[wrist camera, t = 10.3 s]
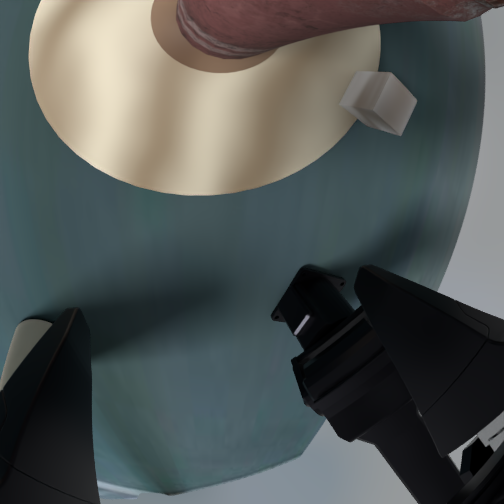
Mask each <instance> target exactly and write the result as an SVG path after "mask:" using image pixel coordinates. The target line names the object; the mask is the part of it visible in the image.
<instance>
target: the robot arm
mask: <svg viewBox="0 0 504 504" xmlns="http://www.w3.org/2000/svg"><path fill="white" fill-rule="evenodd" d="M304 272H305V273H304ZM303 273H304V274H303ZM345 284H346V281H345V280H344V279H343V278H341V277H337V276H333V275H330V274H326V273H323V272H319V271H315V270H312V269H308V268H301V269H300V270H299V271H298V273H297V274H296V276H295V278H294V279H293V281H292V282H291V284H290V286H289V287H288V289H287V291H286V292H285V294H284V295H283V297H282V298H281V300H280V302H279V303H278V305H277V306H276V308H275V309H274V311H273V313H272V314H271V318H272V320H273V321H279V322H286V323H287V325H288V327H289V328H290V330H291V332H292V334H293V335H294V336H296V337H297V339H298V341H299V343H300V344H301V346H302V348H303V350H304V352H303V353H301V354H300V355H299V356H297V357H294V358H293V359H291V362H292V365H293V371H294V374H295V377H296V380H297V383H298V386H299V389H300V392H301V395H302V398H303V401H304V404H305V405H306V406H307V407H311V408H312V409H313V410H314V411H315V412H316V413H317V414H319V415H320V416H325V417H326V418H327V420H328V421H329V423H330V424H331V426H332V427H333V429H334V430H335V432H336V434H337V435H338V436H339V437H340V438H342V439H344V440H346V441H348V442H352V441H354V440H355V439H358V440H361V441H365V442H367V443H371V444H374V445H375V446H376V448H377V449H378V450H379V451H380V453H381V454H382V456H383V457H384V458H385V460H386V461H387V462H388V464H389V465H390V467H391V468H392V469H393V471H394V472H395V473H396V475H397V476H398V477H399V479H400V480H401V481H402V483H403V484H404V485H405V487H406V488H407V489H408V490H409V492H410V493H411V495H412V496H413V497H414V499H415V500H416V501H417V503H418V504H504V320H503V319H501V318H498V317H495V316H493V315H490V314H488V313H485V312H483V311H480V310H478V309H475V308H473V307H470V306H468V305H466V304H463V303H461V302H459V301H457V300H454V299H452V298H450V297H448V296H445V295H443V294H441V293H438V292H436V291H434V290H432V289H429V288H427V287H425V286H422V285H420V284H417V283H415V282H413V281H410V280H408V279H406V278H403V277H401V276H398V275H396V274H394V273H391V272H389V271H386V270H384V269H381V268H379V267H377V266H374V265H371V264H369V265H364V266H361V267H360V268H359V271H358V274H357V277H356V281H355V284H354V290H355V293H356V295H357V297H358V299H359V301H360V303H361V306H360V307H359V308H358V309H356V310H354V309H353V308H352V306H351V305H350V304H349V303H348V302H347V300H346V299H345V298H344V297H343V296H342V294H341V293H340V292H341V290H342V289H343V287H344V286H345ZM419 412H420V413H419ZM476 434H477V436H476V437H475V438H474V439H473V440H472V441H471V443H470V444H469V445H468V446H467V447H466V448H465V449H464V450H463V453H462V462H461V469H460V471H459V469H458V468H457V466H456V465H455V463H454V462H453V460H452V459H451V457H450V456H449V453H451V452H452V451H454V450H455V449H457V448H458V447H460V446H461V445H463V444H464V443H465V442H467V441H468V440H469V439H471V438H472V437H473V436H475V435H476ZM0 504H100V498H99V492H98V486H97V479H96V471H95V461H94V450H93V434H92V370H91V350H90V330H89V327H88V325H87V323H86V320H85V318H84V316H83V313H82V311H81V309H80V308H78V307H73V308H67V309H66V310H65V311H64V312H63V313H62V314H61V315H60V316H59V317H58V318H57V320H56V321H55V322H54V323H53V324H52V325H51V326H50V328H49V329H48V330H47V331H46V332H45V334H44V335H43V336H42V337H41V338H40V340H39V341H38V342H37V343H36V344H35V346H34V347H33V348H32V349H31V351H30V352H29V353H28V354H27V356H26V357H25V358H24V360H23V361H22V362H21V363H20V365H19V366H18V367H17V369H16V370H15V371H14V373H13V374H12V375H11V377H10V378H9V380H8V381H7V382H6V384H5V385H4V387H3V390H1V391H0Z"/></svg>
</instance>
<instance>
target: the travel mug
mask: <svg viewBox="0 0 504 504" xmlns="http://www.w3.org/2000/svg"><path fill="white" fill-rule="evenodd" d="M51 325H52V323H49V322H47V321H43V320H37V319H30V320H25V321H23V322H21V323H20V324H19V325H18V326H17V328H16V330H15V333H14V336H13V339H12V342H11V345H10V348H9V351H8V355H7V358H6V362H5V365H4V369H3V373H2V377H1V381H0V391H1V390H3V387H4V385H5V384H6V382H7V381H8V380H9V378H10V377H11V375H12V374H13V373H14V371H15V370H16V369H17V367H18V366H19V365H20V363H21V362H22V361H23V360H24V358H25V357H26V356H27V354H28V353H29V352H30V351H31V349H32V348H33V347H34V346H35V344H36V343H37V342H38V341H39V340H40V338H41V337H42V336H43V335H44V334H45V332H46V331H47V330H48V329H49V328H50V326H51Z"/></svg>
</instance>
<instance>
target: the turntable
mask: <svg viewBox="0 0 504 504" xmlns="http://www.w3.org/2000/svg"><path fill="white" fill-rule="evenodd" d="M177 1H178V0H41V2H40V4H39V7H38V9H37V12H36V14H35V18H34V22H33V26H32V30H31V35H30V44H29V66H30V75H31V81H32V85H33V88H34V92H35V95H36V98H37V101H38V103H39V105H40V107H41V109H42V111H43V113H44V115H45V117H46V119H47V121H48V122H49V124H50V125H51V126H52V128H53V129H54V130H55V132H56V133H57V135H58V136H59V137H60V138H61V139H62V140H63V141H64V142H65V143H66V144H67V145H68V146H69V147H70V148H71V149H72V150H73V151H74V152H75V153H76V154H77V155H79V156H80V157H81V158H83V159H84V160H85V161H87V162H88V163H90V164H91V165H92V166H94V167H95V168H97V169H99V170H101V171H103V172H105V173H106V174H108V175H110V176H112V177H114V178H116V179H119V180H121V181H124V182H127V183H129V184H132V185H135V186H138V187H141V188H145V189H150V190H154V191H158V192H162V193H171V194H180V195H218V194H227V193H236V192H240V191H244V190H249V189H253V188H258V187H261V186H263V185H266V184H269V183H272V182H275V181H278V180H280V179H283V178H285V177H287V176H289V175H291V174H293V173H295V172H297V171H299V170H301V169H302V168H304V167H306V166H307V165H309V164H311V163H312V162H314V161H315V160H317V159H318V158H319V157H321V156H322V155H323V154H324V153H326V152H327V151H328V150H329V149H331V148H332V147H333V146H334V145H335V144H336V143H337V142H338V141H339V140H340V139H341V138H342V137H343V136H344V135H345V134H346V133H347V131H348V130H349V129H350V127H351V126H352V125H353V124H354V122H355V121H356V120H357V119H359V120H360V121H361V122H362V123H364V124H365V125H366V126H368V127H372V128H375V129H379V130H382V131H386V132H389V133H392V134H395V135H399V136H401V135H402V133H403V131H404V129H405V126H406V124H407V122H408V120H409V118H410V116H411V114H412V111H413V109H414V107H415V105H416V103H417V100H416V99H415V97H414V96H413V95H412V94H411V93H410V92H409V91H408V89H407V88H406V87H405V86H404V85H403V84H402V83H401V82H400V81H399V80H398V79H397V78H396V77H395V76H394V75H393V74H392V73H391V72H378V67H379V60H380V52H381V35H380V27H379V25H372V26H365V27H359V28H354V29H348V30H343V31H338V32H334V33H329V34H325V35H321V36H317V37H313V38H309V39H305V40H302V41H298V42H295V43H292V44H288V45H285V46H282V47H279V48H276V49H273V50H270V51H267V52H264V53H262V54H259V55H256V56H252V57H248V58H244V59H221V58H218V57H214V56H210V55H206V54H205V53H203V52H201V51H200V50H198V49H196V48H195V47H193V46H192V45H191V44H190V43H189V42H188V41H187V40H186V39H185V37H184V36H183V35H182V34H181V32H180V29H179V27H178V24H177V21H176V8H177Z"/></svg>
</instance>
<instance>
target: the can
mask: <svg viewBox="0 0 504 504" xmlns="http://www.w3.org/2000/svg"><path fill="white" fill-rule="evenodd" d="M502 6H504V0H178V1H177V8H176V21H177V24H178V27H179V29H180V32H181V34H182V35H183V36H184V37H185V39H186V40H187V41H188V42H189V43H190V44H191V45H192V46H193V47H195V48H196V49H198V50H200V51H201V52H203V53H205V54H206V55H210V56H214V57H218V58H221V59H244V58H248V57H252V56H256V55H259V54H262V53H264V52H267V51H270V50H273V49H276V48H279V47H282V46H285V45H288V44H292V43H295V42H298V41H302V40H305V39H309V38H313V37H317V36H321V35H325V34H329V33H334V32H338V31H343V30H348V29H354V28H359V27H365V26H372V25H380V24H388V23H398V22H411V21H468V20H470V19H473V18H475V17H478V16H480V15H482V14H483V13H485V12H487V11H488V10H490V9H492V8H499V7H502Z"/></svg>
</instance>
